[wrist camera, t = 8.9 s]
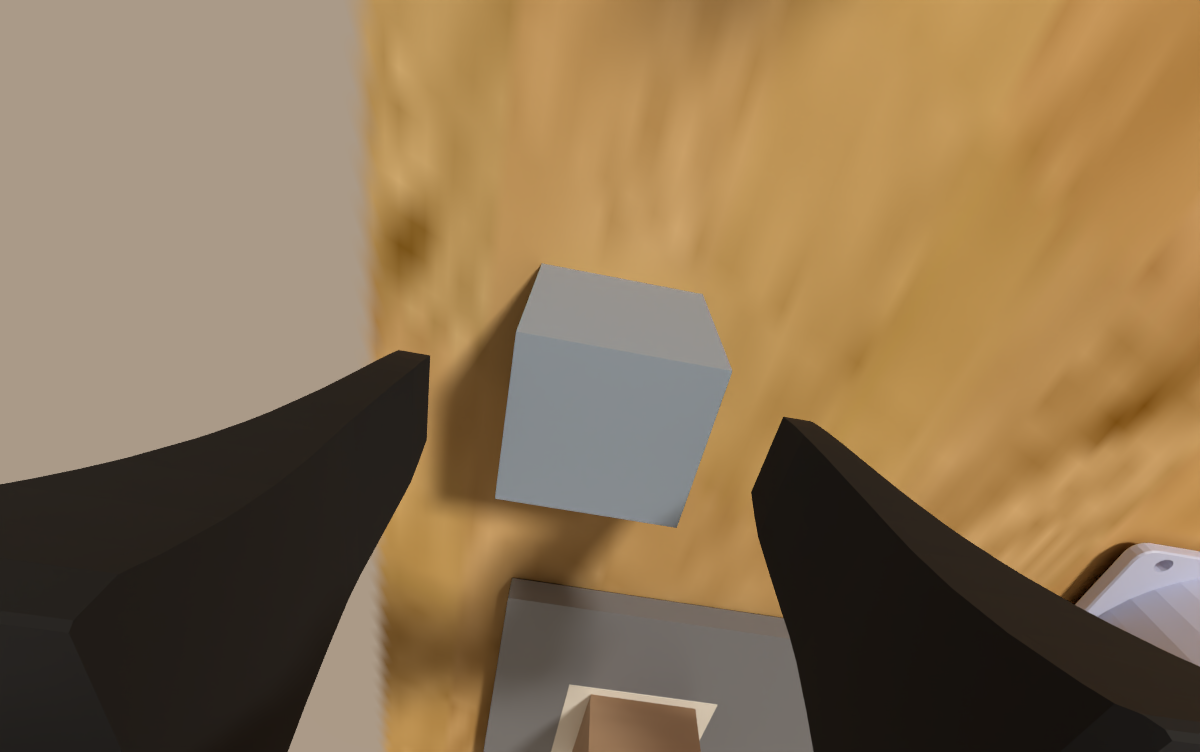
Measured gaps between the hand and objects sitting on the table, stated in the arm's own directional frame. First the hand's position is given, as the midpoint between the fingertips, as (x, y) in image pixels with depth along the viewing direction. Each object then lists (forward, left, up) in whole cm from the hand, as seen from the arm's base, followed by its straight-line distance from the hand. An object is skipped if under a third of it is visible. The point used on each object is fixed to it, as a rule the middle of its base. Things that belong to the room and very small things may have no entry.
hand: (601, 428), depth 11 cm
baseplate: (-5, +17, -4) cm, 18 cm away
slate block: (0, 0, -4) cm, 4 cm away
